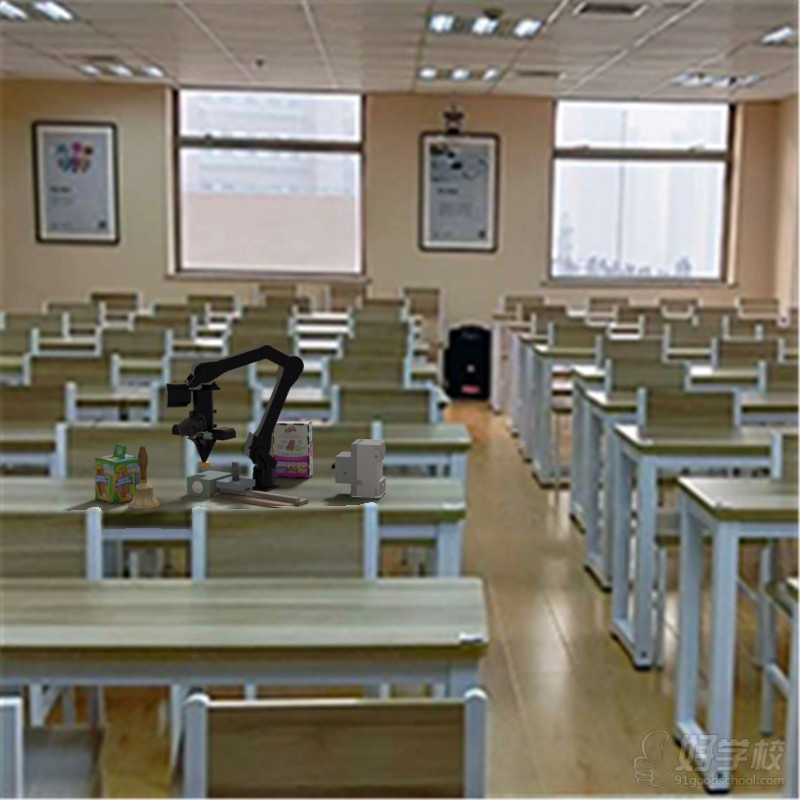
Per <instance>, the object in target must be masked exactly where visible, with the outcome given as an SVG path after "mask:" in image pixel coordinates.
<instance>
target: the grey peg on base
mask: <svg viewBox="0 0 800 800" xmlns="http://www.w3.org/2000/svg"><path fill="white" fill-rule="evenodd" d="M231 473H232V476H231V477H228V478H224V479H221V480H217V481H216V487H218V488H220V492H225V493H232V494H238V495H245V489H247V490H253V488H252V487H253V486H255V479H253V478H247V477H241V476H240V461H232V462H231Z"/></svg>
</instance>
